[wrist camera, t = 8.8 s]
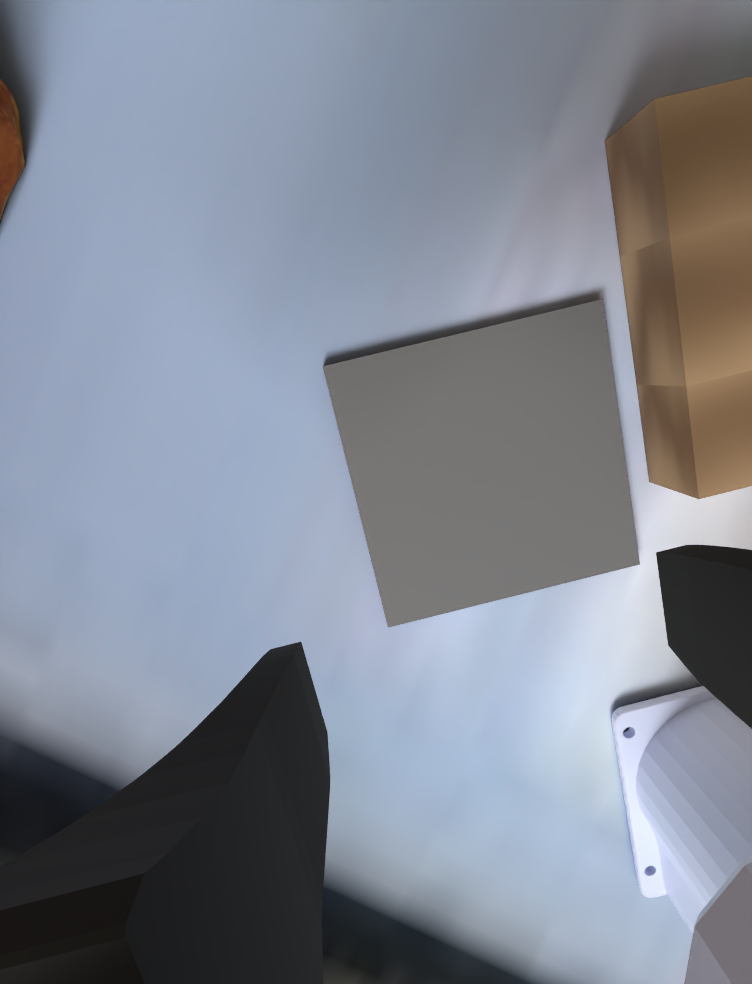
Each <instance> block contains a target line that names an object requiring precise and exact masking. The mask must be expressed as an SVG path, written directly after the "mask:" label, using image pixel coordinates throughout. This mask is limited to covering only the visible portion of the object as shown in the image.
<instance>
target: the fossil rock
mask: <svg viewBox="0 0 752 984" xmlns="http://www.w3.org/2000/svg"><path fill="white" fill-rule="evenodd" d="M24 167H25V161H24V155H23V139H22V133H21V127H20V118H19V110H18V108H17V105H16V103H15V100H14V98H13V95H12V93H11V91H10V90H9V88H8V87H7V86H6V85H5V83H4V82H3V81H2V80H1V78H0V221H1V217H2V214H3V211H4V207H5V204H6V202H7V200H8V198H9V195H10V193H11V191H12V189H13V187H14V185H15V183H16V181H17V180H18V178H19V176H20V174H21V172H22V171H23V169H24Z"/></svg>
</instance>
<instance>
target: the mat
mask: <svg viewBox="0 0 752 984" xmlns="http://www.w3.org/2000/svg"><path fill="white" fill-rule="evenodd" d="M323 369H324V373H325V377H326V381H327V385H328V389H329V393H330V397H331V401H332V405H333V409H334V413H335V417H336V421H337V425H338V429H339V433H340V437H341V441H342V445H343V449H344V453H345V457H346V461H347V465H348V469H349V473H350V477H351V481H352V485H353V489H354V493H355V497H356V501H357V505H358V509H359V513H360V517H361V521H362V525H363V529H364V533H365V537H366V541H367V545H368V549H369V553H370V557H371V561H372V565H373V569H374V573H375V577H376V581H377V585H378V589H379V593H380V597H381V601H382V605H383V609H384V613H385V617H386V621H387V625H388V627H392V626H396V625H400V624H404V623H408V622H412V621H416V620H420V619H424V618H428V617H432V616H436V615H440V614H444V613H448V612H452V611H456V610H460V609H464V608H468V607H472V606H476V605H480V604H484V603H488V602H492V601H496V600H500V599H504V598H508V597H512V596H515V595H519V594H523V593H527V592H531V591H535V590H539V589H543V588H547V587H551V586H555V585H559V584H563V583H567V582H571V581H575V580H579V579H583V578H587V577H591V576H595V575H599V574H603V573H607V572H611V571H615V570H619V569H623V568H627V567H631V566H635V565H639V564H640V562H639V554H638V547H637V540H636V533H635V526H634V518H633V511H632V504H631V497H630V490H629V482H628V475H627V468H626V461H625V454H624V446H623V439H622V432H621V425H620V418H619V410H618V403H617V396H616V389H615V382H614V374H613V367H612V360H611V353H610V346H609V338H608V331H607V324H606V317H605V310H604V303H603V299H601V300H596V301H592V302H588V303H584V304H580V305H576V306H571V307H567V308H563V309H559V310H555V311H551V312H547V313H542V314H538V315H534V316H530V317H526V318H522V319H517V320H513V321H509V322H505V323H501V324H497V325H493V326H488V327H484V328H480V329H476V330H472V331H468V332H463V333H459V334H455V335H451V336H447V337H443V338H438V339H434V340H430V341H426V342H422V343H418V344H414V345H409V346H405V347H401V348H397V349H393V350H389V351H384V352H380V353H376V354H372V355H368V356H364V357H360V358H355V359H351V360H347V361H343V362H339V363H335V364H330V365H326V366H323Z"/></svg>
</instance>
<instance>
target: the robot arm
mask: <svg viewBox="0 0 752 984" xmlns="http://www.w3.org/2000/svg"><path fill="white" fill-rule="evenodd" d="M656 555H657V563H658V570H659V578H660V585H661V593H662V601H663V608H664V616H665V623H666V631H667V639H668V646H669V647H670V648H671V649H672V650H673V652H674V653H675V654H676V655H677V656H678V658H679V659H680V660H681V661H682V663H683V664H684V665H685V666H686V667H687V668H688V670H689V671H690V672H691V673H692V674H693V675H694V676H695V677H696V679H697V680H698V681H699V682H700V683H701V684H702V685H703V686H700V687H696V688H692V689H688V690H684V691H681V692H677V693H673V694H669V695H665V696H661V697H657V698H653V699H649V700H645V701H642V702H638V703H634V704H630V705H626V706H622V707H620V708H617V709H616V710H615V711H614V712H613V714H612V726H613V732H614V739H615V745H616V751H617V757H618V763H619V770H620V776H621V782H622V788H623V795H624V801H625V807H626V813H627V819H628V826H629V832H630V838H631V844H632V850H633V857H634V863H635V869H636V875H637V881H638V886H639V888H640V890H641V892H642V893H643V895H645V896H646V897H649V898H652V897H657V896H661V895H665V894H668V896H669V898H670V899H671V901H672V902H673V904H674V905H675V907H676V909H677V910H678V912H679V913H680V915H681V916H682V918H683V920H684V921H685V923H686V924H687V926H688V927H689V929H690V930H691V932H692V934H693V938H692V943H691V949H690V955H689V960H688V966H687V972H686V977H685V983H684V984H752V550H747V549H739V548H730V547H720V546H709V545H685V546H681V547H677V548H673V549H669V550H665V551H661V552H657V553H656ZM627 727H630V729H629V730H628V731H627V732H623V731H624V730H625V729H626V728H627ZM329 793H330V766H329V750H328V736H327V730H326V726H325V723H324V719H323V716H322V713H321V709H320V706H319V702H318V699H317V695H316V692H315V688H314V685H313V681H312V678H311V674H310V671H309V667H308V664H307V661H306V657H305V654H304V650H303V647H302V643H301V642H298V643H294V644H290V645H286V646H282V647H278V648H274V649H271V650H269V651H268V652H267V653H266V654H265V655H264V656H263V657H262V658H261V659H260V660H259V661H258V662H257V663H256V664H255V666H254V667H253V668H252V669H251V670H250V671H249V672H248V673H247V675H246V676H245V677H244V678H243V679H242V680H241V681H240V682H239V683H238V685H237V686H236V687H235V688H234V689H233V690H232V691H231V692H230V693H229V694H228V696H227V697H226V698H225V699H224V700H223V701H222V702H221V703H220V704H219V705H218V706H217V707H216V708H215V709H214V710H213V711H212V712H211V713H210V714H209V715H208V716H207V717H206V718H205V719H204V720H203V721H202V722H201V723H200V724H199V725H198V726H197V727H196V728H195V729H194V730H193V731H192V732H191V733H190V734H189V735H188V736H187V737H186V738H185V739H184V740H183V741H182V742H180V743H179V744H178V745H177V746H176V747H175V748H174V749H173V750H171V751H170V752H169V753H168V754H167V755H166V756H164V757H163V758H162V759H161V760H159V761H158V762H157V763H156V764H155V765H153V766H152V767H151V768H150V769H149V770H147V771H146V772H145V773H144V774H142V775H141V776H140V777H138V778H137V779H136V780H135V781H133V782H132V783H130V784H129V785H127V786H126V787H125V788H123V789H122V790H120V791H119V792H118V793H116V794H115V795H113V796H112V797H111V798H109V799H108V800H106V801H105V802H103V803H102V804H101V805H99V806H98V807H96V808H95V809H94V810H92V811H91V812H89V813H88V814H87V815H85V816H83V817H82V818H80V819H79V820H77V821H76V822H74V823H73V824H71V825H69V826H68V827H66V828H65V829H63V830H61V831H60V832H58V833H57V834H55V835H53V836H52V837H50V838H49V839H47V840H45V841H43V842H42V843H40V844H38V845H37V846H35V847H33V848H31V849H30V850H28V851H26V852H25V853H23V854H21V855H20V856H18V857H16V858H14V859H12V860H11V861H9V862H7V863H5V864H3V865H2V866H0V984H323V959H322V896H323V882H324V867H325V853H326V839H327V824H328V809H329ZM648 866H649V867H648Z"/></svg>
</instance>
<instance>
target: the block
mask: <svg viewBox="0 0 752 984" xmlns="http://www.w3.org/2000/svg"><path fill="white" fill-rule="evenodd" d="M605 145H606V153H607V160H608V168H609V176H610V183H611V191H612V199H613V206H614V214H615V222H616V229H617V237H618V245H619V252H620V260H621V268H622V275H623V283H624V291H625V298H626V306H627V314H628V321H629V329H630V337H631V344H632V352H633V360H634V367H635V375H636V383H637V390H638V398H639V406H640V413H641V421H642V428H643V436H644V444H645V451H646V459H647V467H648V474H649V482H651V483H654V484H657V485H660V486H663V487H666V488H668V489H671V490H674V491H677V492H680V493H683V494H686V495H689V496H692V497H694V498H697V499H701V498H705V497H709V496H713V495H717V494H721V493H725V492H729V491H733V490H737V489H741V488H745V487H749V486H752V76H750V77H745V78H741V79H737V80H733V81H728V82H724V83H720V84H715V85H711V86H707V87H703V88H698V89H694V90H690V91H685V92H681V93H677V94H673V95H668V96H664V97H660V98H655V99H653V100H652V101H651V102H650V103H649V104H648V105H646V106H645V107H644V108H643V109H642V110H641V111H639V112H638V113H637V114H636V115H635V116H634V117H632V118H631V119H630V120H629V121H628V122H627V123H625V124H624V125H623V126H622V127H621V128H620V129H619V130H617V131H616V132H615V133H614V134H613V135H612V136H610V137H609V138H608V139H607V140H606V141H605Z"/></svg>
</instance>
